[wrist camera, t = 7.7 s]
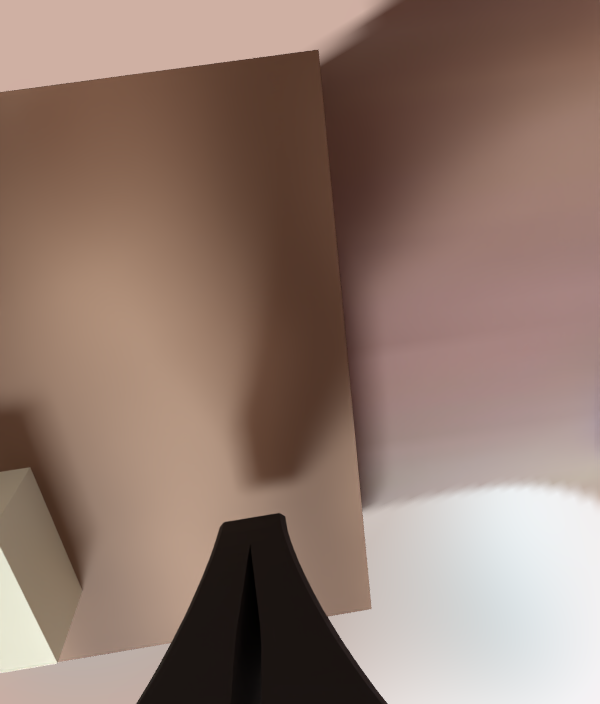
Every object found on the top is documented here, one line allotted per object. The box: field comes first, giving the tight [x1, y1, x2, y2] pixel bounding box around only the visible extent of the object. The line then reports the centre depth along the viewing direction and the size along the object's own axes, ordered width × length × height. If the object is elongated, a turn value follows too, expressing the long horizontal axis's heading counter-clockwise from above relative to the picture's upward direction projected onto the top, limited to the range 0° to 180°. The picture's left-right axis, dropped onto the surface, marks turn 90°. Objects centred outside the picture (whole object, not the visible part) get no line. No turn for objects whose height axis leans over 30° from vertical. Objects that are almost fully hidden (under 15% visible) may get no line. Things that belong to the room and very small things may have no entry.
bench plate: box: [0, 50, 371, 662], centre depth 13 cm, size 14×14×2 cm
